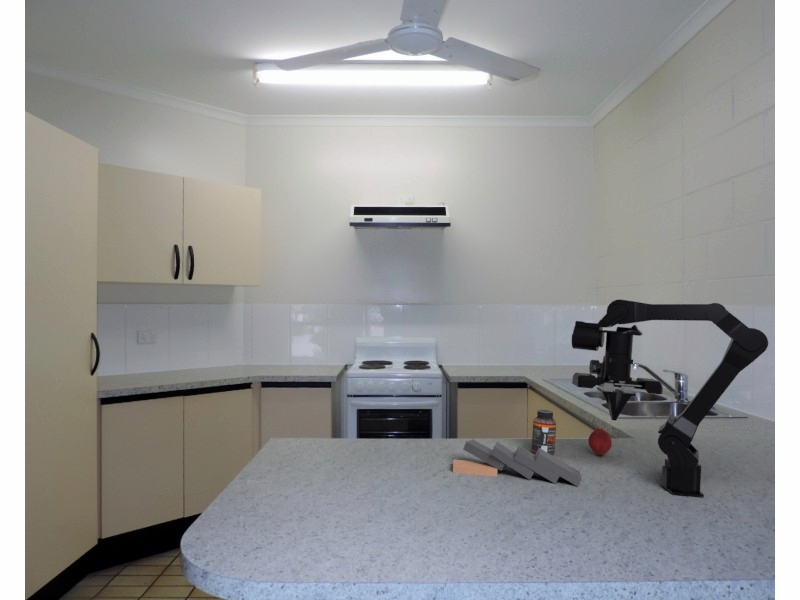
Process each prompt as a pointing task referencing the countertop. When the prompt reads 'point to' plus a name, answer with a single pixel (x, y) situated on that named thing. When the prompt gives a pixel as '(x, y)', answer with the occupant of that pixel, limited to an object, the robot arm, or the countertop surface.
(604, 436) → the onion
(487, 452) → the domino
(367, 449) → the countertop surface
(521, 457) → the domino
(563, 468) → the domino
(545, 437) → the supplement bottle
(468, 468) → the domino
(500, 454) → the domino
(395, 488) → the countertop surface
